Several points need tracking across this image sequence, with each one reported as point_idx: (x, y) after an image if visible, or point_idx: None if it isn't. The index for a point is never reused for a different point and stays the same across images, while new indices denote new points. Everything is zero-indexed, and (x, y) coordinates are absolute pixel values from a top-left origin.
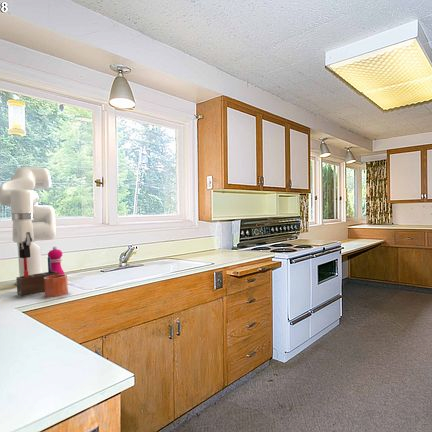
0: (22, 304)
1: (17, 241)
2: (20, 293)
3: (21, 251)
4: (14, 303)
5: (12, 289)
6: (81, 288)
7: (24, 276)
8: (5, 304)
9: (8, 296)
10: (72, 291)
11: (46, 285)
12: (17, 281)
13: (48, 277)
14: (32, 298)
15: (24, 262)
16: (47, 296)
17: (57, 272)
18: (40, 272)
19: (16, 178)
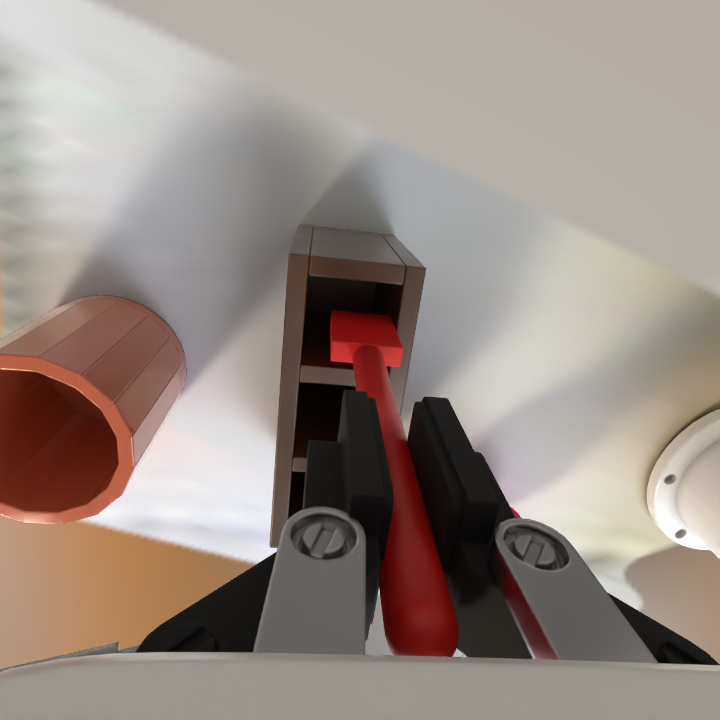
0: (80, 129)
1: (354, 701)
2: (327, 232)
3: (348, 465)
4: (180, 116)
5: (664, 324)
6: (190, 526)
7: (378, 324)
8: (216, 66)
9: (472, 207)
10: (159, 467)
11: (27, 330)
12: (391, 256)
13: (110, 412)
14: (216, 257)
15: (367, 392)
16: (75, 302)
17: (270, 538)
18: (718, 554)
19: None
